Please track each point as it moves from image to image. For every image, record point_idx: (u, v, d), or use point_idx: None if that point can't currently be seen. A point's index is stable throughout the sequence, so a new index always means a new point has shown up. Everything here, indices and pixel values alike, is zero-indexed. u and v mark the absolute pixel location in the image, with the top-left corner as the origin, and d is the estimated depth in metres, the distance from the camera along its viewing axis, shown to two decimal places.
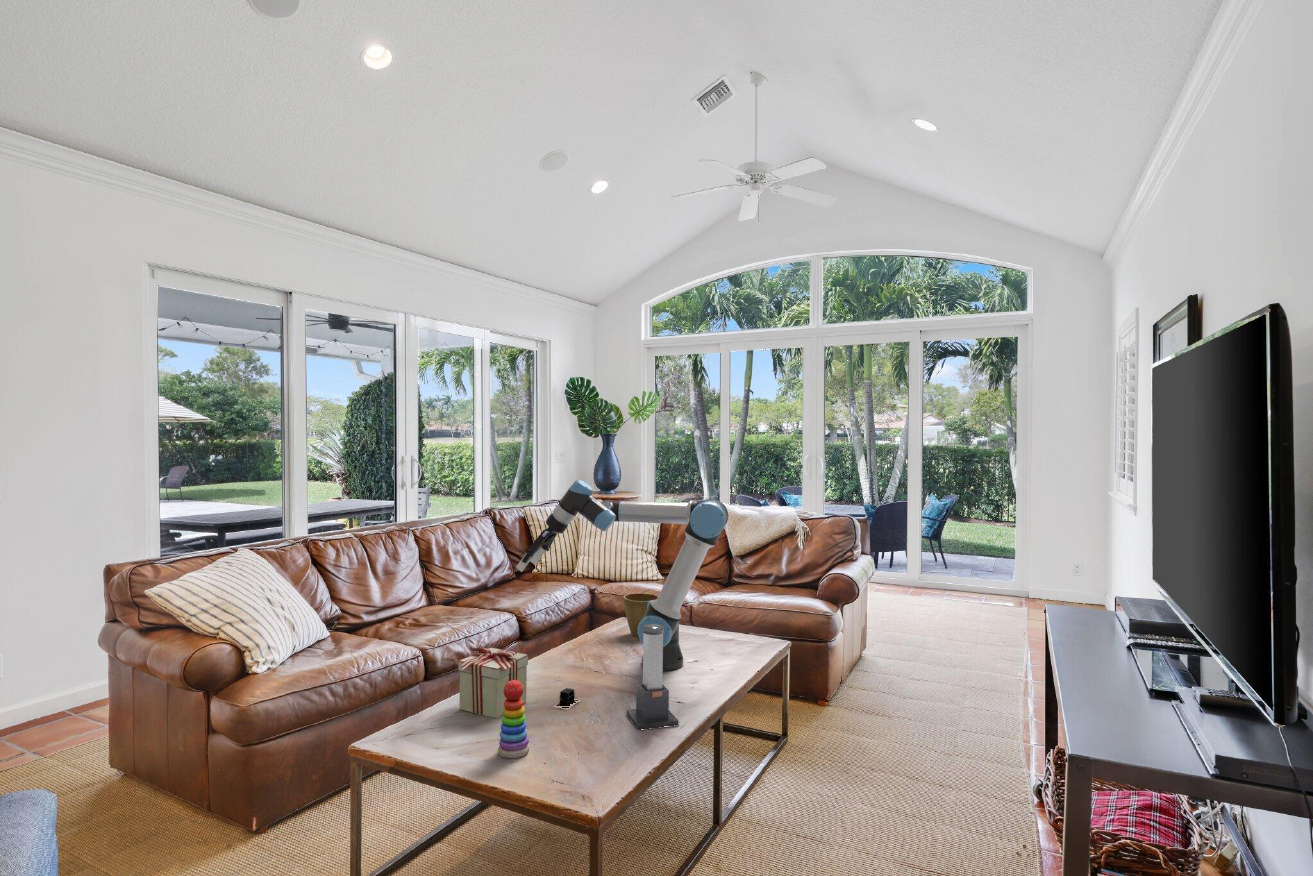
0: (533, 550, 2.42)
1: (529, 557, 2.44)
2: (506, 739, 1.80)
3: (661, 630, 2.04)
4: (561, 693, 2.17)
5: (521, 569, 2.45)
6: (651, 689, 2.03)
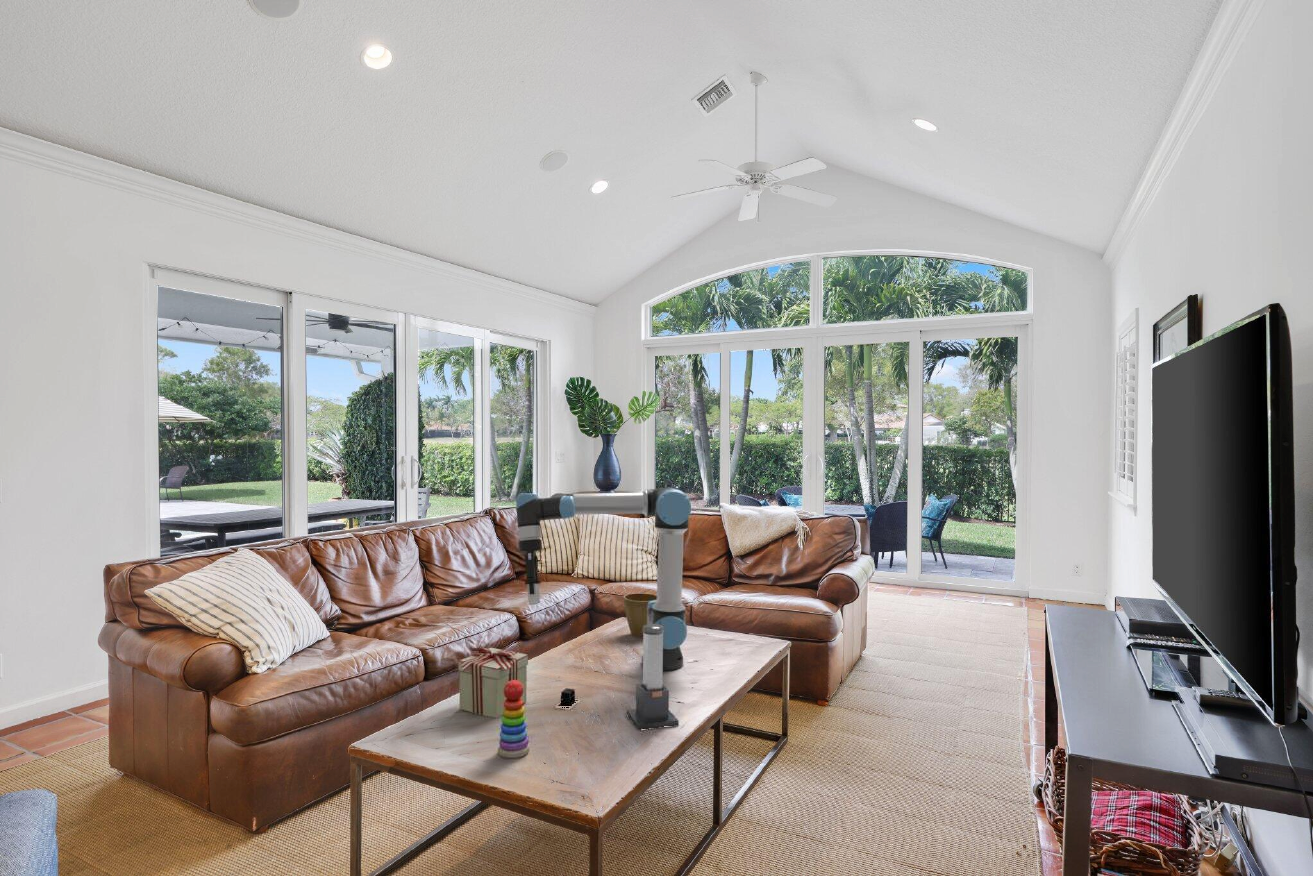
0: (532, 574, 2.26)
1: (533, 585, 2.27)
2: (506, 739, 1.80)
3: (661, 630, 2.04)
4: (562, 693, 2.16)
5: (535, 602, 2.26)
6: (651, 689, 2.03)
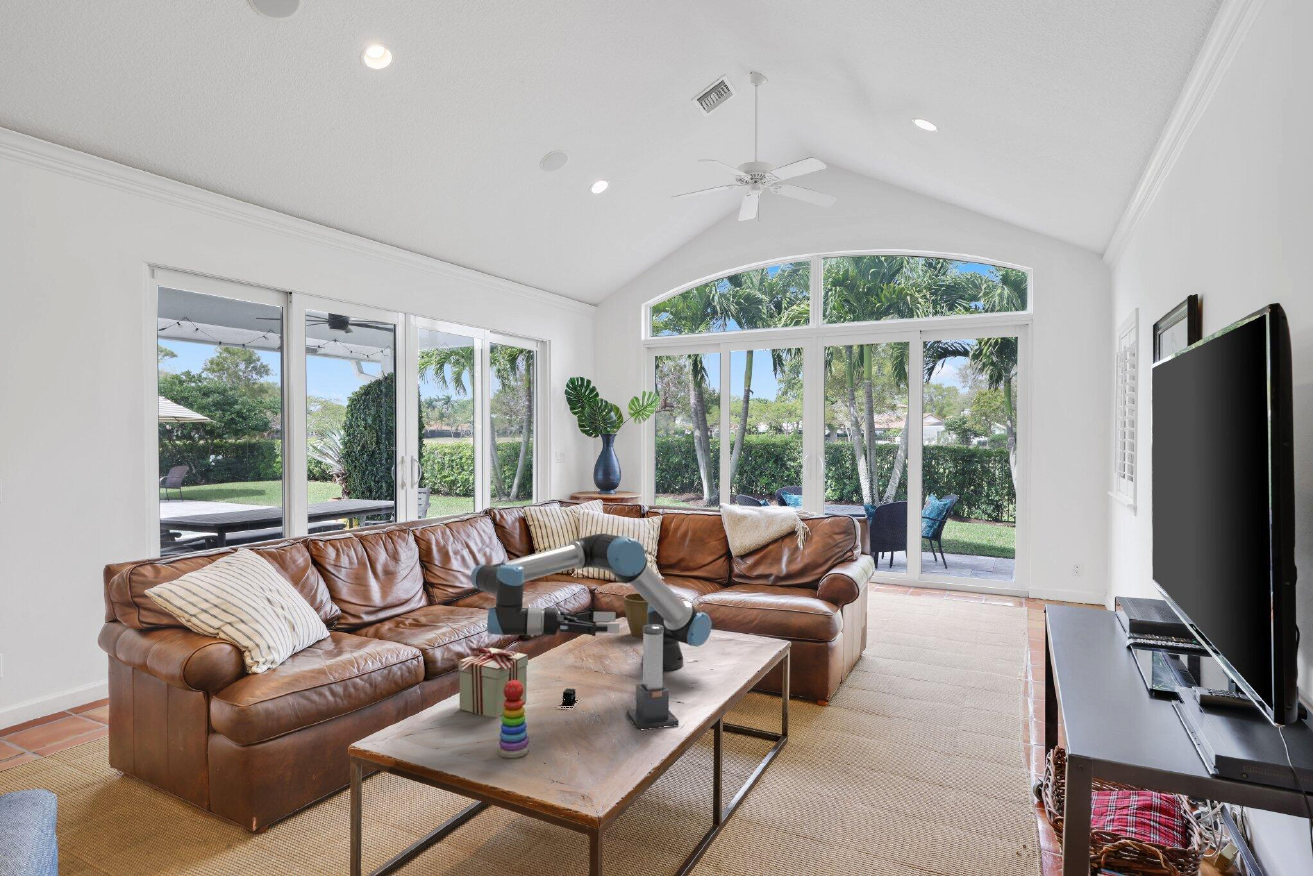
0: (586, 627, 1.94)
1: (598, 626, 1.97)
2: (506, 739, 1.80)
3: (661, 630, 2.04)
4: (564, 694, 2.16)
5: (617, 625, 1.98)
6: (651, 689, 2.03)
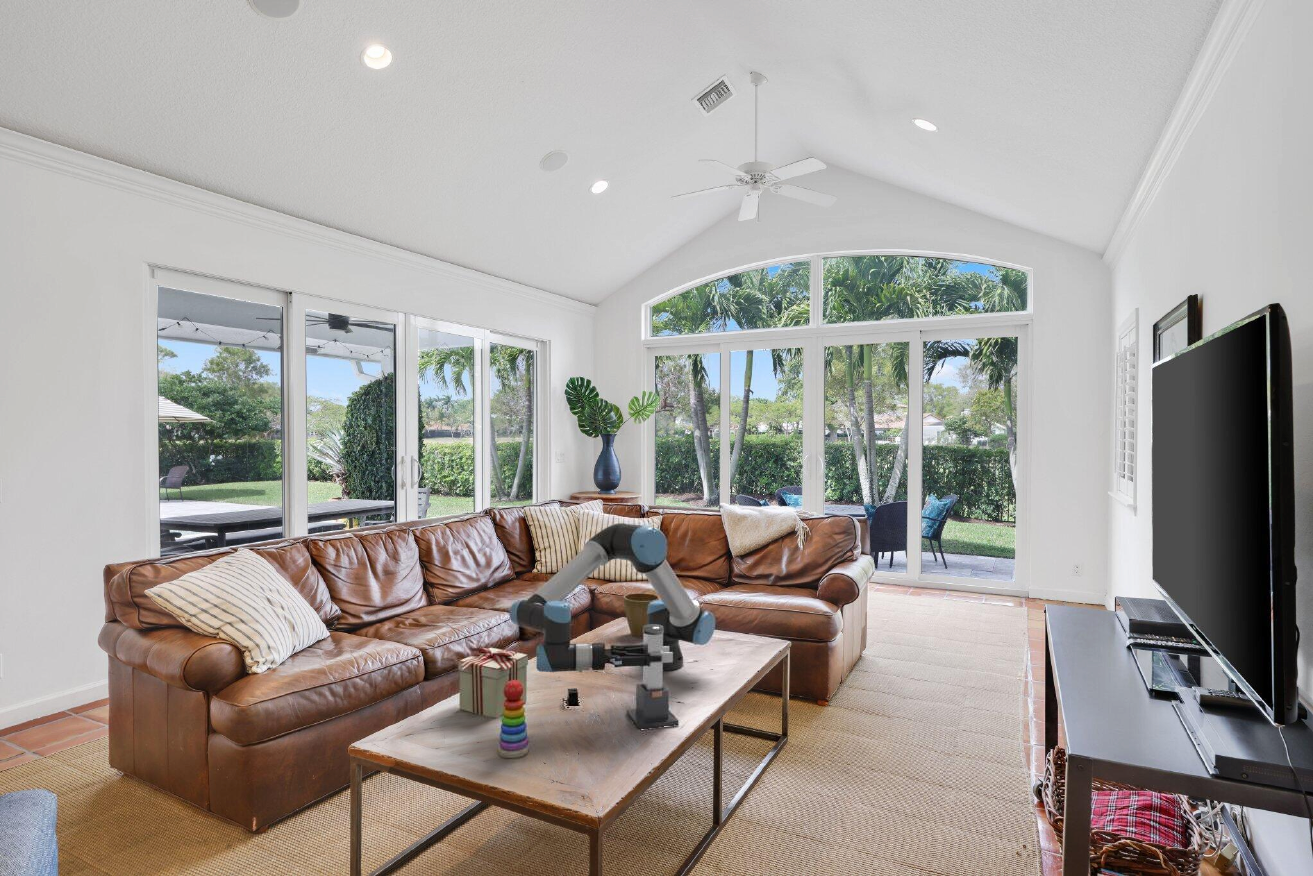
0: (642, 659, 1.99)
1: (652, 656, 2.02)
2: (506, 739, 1.80)
3: (661, 630, 2.04)
4: (570, 694, 2.16)
5: (670, 654, 2.03)
6: (651, 689, 2.03)
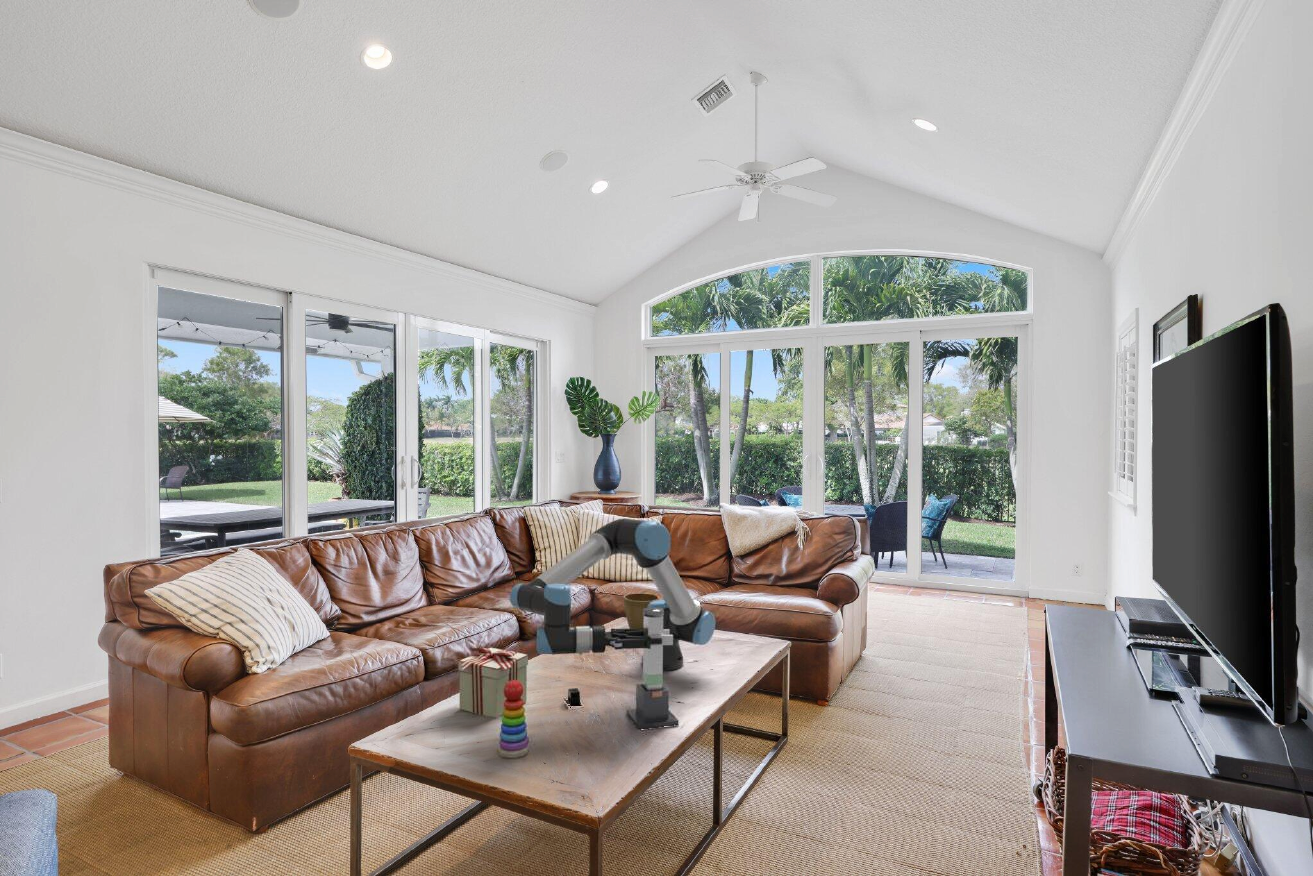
0: (642, 641, 1.99)
1: (652, 638, 2.02)
2: (506, 739, 1.80)
3: (661, 613, 2.04)
4: (572, 694, 2.16)
5: (670, 637, 2.03)
6: (651, 672, 2.03)
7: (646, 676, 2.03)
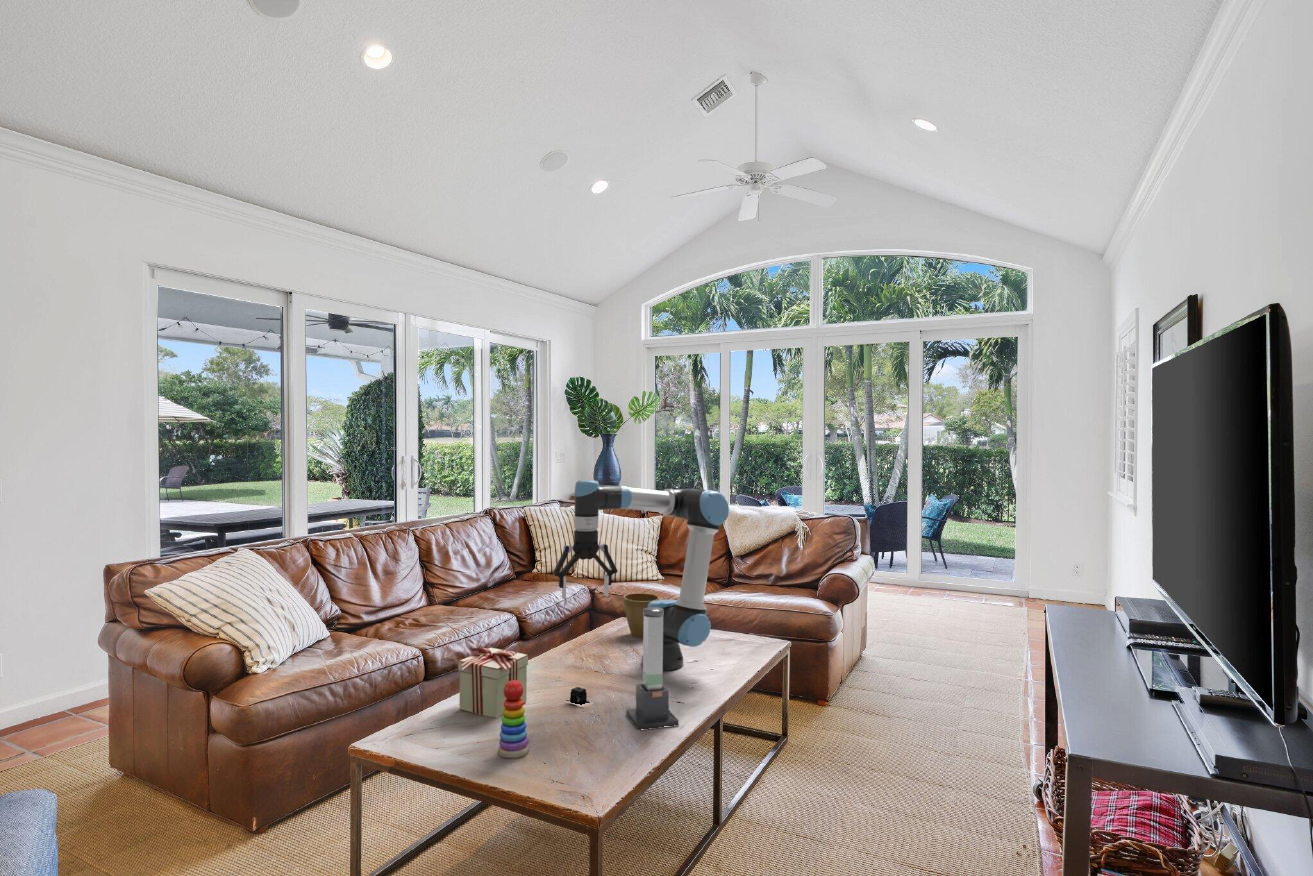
0: None
1: None
2: (506, 739, 1.80)
3: (661, 613, 2.04)
4: (580, 692, 2.17)
5: None
6: (651, 672, 2.03)
7: (646, 676, 2.03)
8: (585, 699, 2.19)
